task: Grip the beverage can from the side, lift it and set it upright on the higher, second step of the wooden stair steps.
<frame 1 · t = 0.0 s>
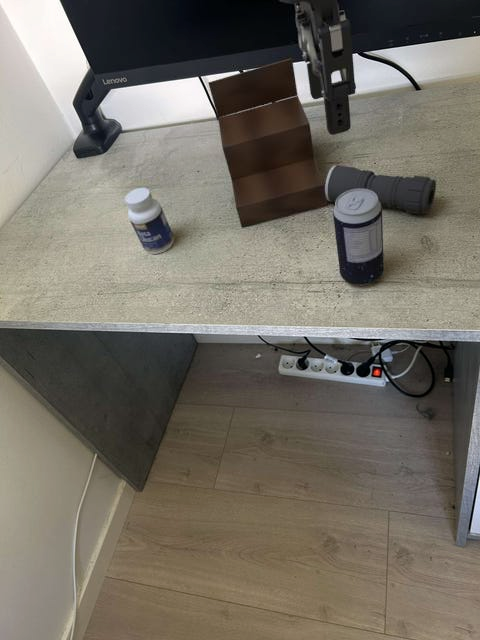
hand: (329, 112, 51), 22 cm above the table, tool pointing down, fingers open, 8 cm apart
wooden stair steps: (271, 167, 88), on the table
beverage can: (361, 275, 66), on the table
flashlight: (378, 205, 75), on the table
pill bottle: (160, 245, 81), on the table
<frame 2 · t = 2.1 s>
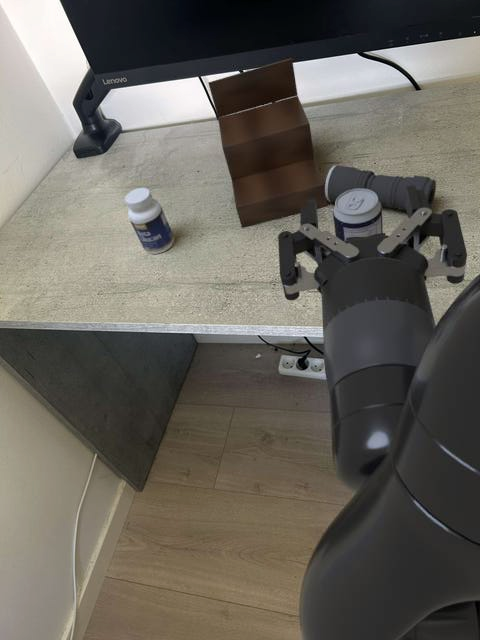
hand: (359, 200, 44), 20 cm above the table, tool horizontal, fingers open, 8 cm apart
nothing on the table moved.
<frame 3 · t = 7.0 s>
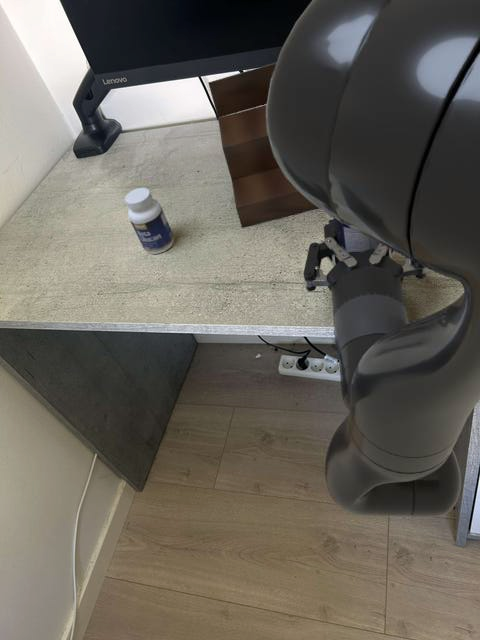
hand: (357, 221, 62), 7 cm above the table, tool horizontal, fingers closed on beverage can, 5 cm apart
beverage can: (361, 275, 66), on the table, touching gripper
everything else where it was.
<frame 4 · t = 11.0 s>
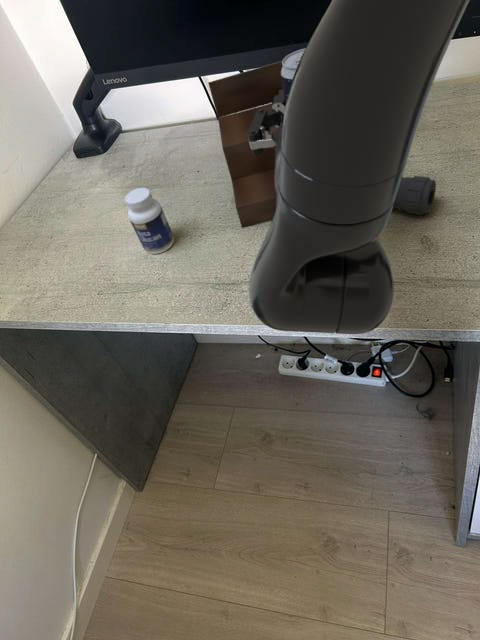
hand: (309, 92, 59), 21 cm above the table, tool horizontal, fingers closed on beverage can, 5 cm apart
beverage can: (317, 156, 62), point 14 cm above the table, touching gripper
everything else where it was.
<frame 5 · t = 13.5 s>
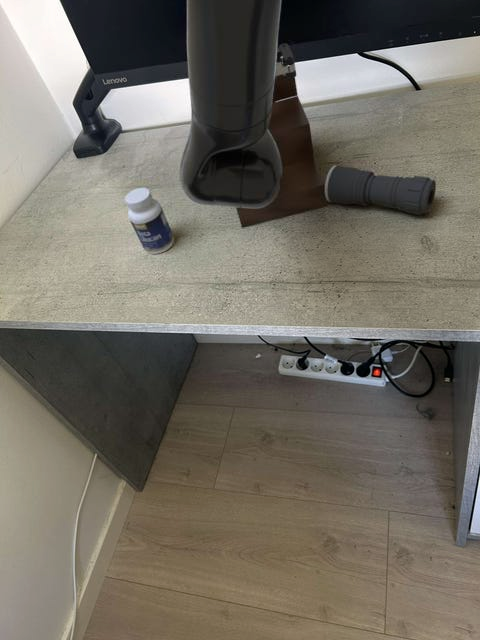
hand: (249, 49, 72), 21 cm above the table, tool horizontal, fingers closed on beverage can, 5 cm apart
beverage can: (258, 104, 76), point 13 cm above the table, touching gripper
everything else where it was.
when the fingers open (17 cm above the table, at t = 15.3 s): beverage can stays where it is, resting on wooden stair steps.
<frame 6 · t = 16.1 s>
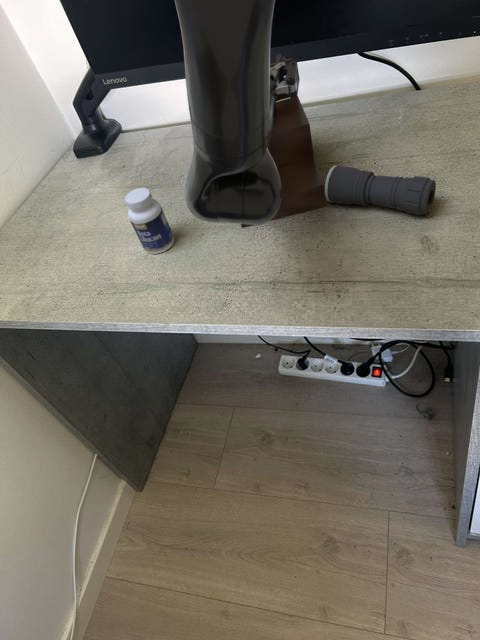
hand: (252, 67, 75), 18 cm above the table, tool horizontal, fingers open, 8 cm apart
beverage can: (261, 122, 80), point 10 cm above the table, touching wooden stair steps
everything else where it was.
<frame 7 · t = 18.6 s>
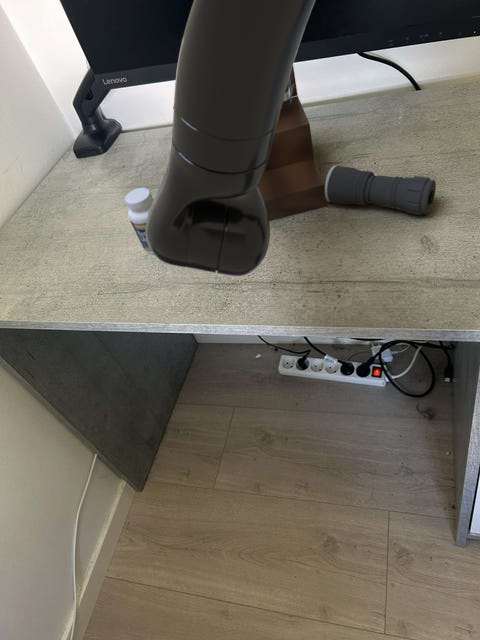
hand: (237, 70, 63), 23 cm above the table, tool horizontal, fingers open, 8 cm apart
nothing on the table moved.
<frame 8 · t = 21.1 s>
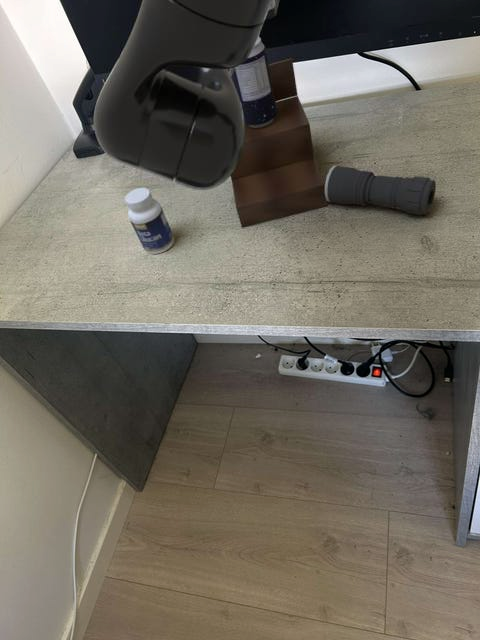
nothing on the table moved.
at the end: beverage can inside the target area on the wooden stair steps (0.1 cm from its centre), point 9.8 cm above the wooden stair steps's base; beverage can tilted 0°; the gripper is holding nothing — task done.
